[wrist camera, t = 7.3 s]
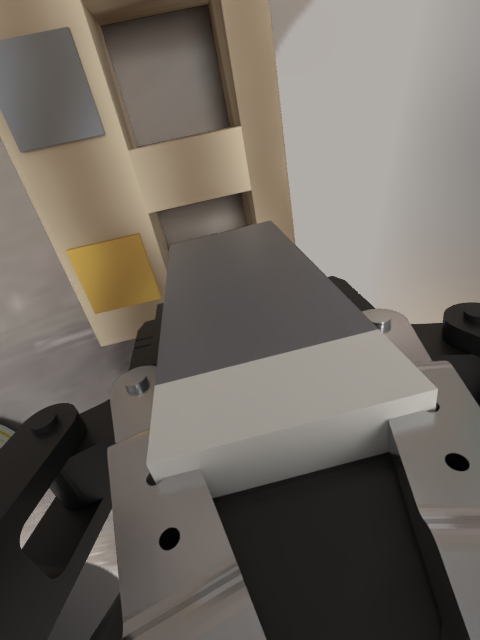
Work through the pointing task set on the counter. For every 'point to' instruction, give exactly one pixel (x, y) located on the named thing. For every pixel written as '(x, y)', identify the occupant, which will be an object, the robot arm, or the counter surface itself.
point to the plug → (268, 367)
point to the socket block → (131, 146)
